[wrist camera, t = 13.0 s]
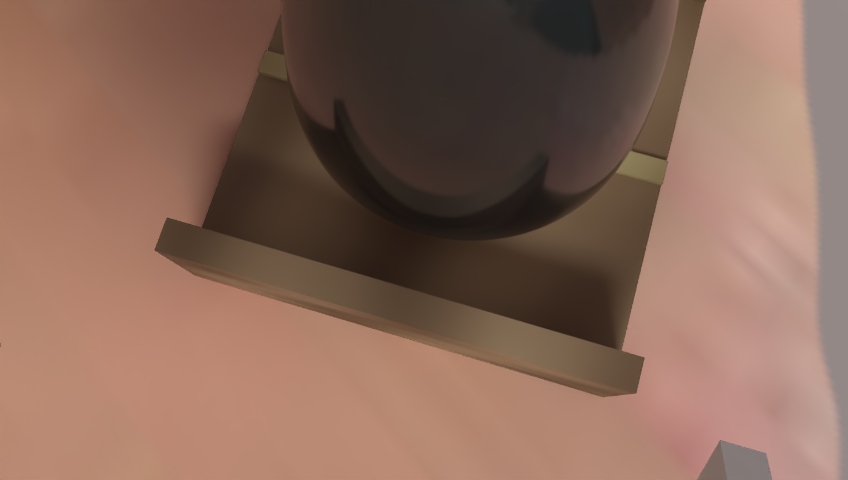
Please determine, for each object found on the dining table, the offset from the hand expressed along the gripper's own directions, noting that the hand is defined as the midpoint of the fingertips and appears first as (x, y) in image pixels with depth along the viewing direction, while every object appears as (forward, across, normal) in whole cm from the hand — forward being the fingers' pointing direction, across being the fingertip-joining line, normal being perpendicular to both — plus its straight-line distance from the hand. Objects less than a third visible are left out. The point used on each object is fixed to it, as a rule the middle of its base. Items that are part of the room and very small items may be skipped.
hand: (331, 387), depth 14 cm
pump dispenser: (+14, 0, -1) cm, 14 cm away
